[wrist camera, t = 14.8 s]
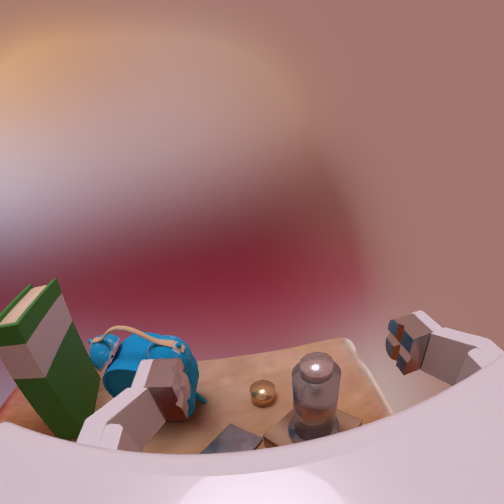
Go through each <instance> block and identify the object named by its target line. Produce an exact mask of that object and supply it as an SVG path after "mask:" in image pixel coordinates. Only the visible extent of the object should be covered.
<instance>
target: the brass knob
mask: <svg viewBox="0 0 504 504" xmlns="http://www.w3.org/2000/svg"><path fill="white" fill-rule="evenodd" d="M250 392H251V397H252V402H253V404H254V405H255V406H257V407H261V408H265V407H269V406H271V405H272V404H273V403H274V402H275V400H276V397H275V388H274V384H273V383H272V382H270V381H268V380H259V381H256V382H254V383H253V384H252V385H251V387H250Z"/></svg>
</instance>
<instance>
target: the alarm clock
mask: <svg viewBox="0 0 504 504" xmlns="http://www.w3.org/2000/svg"><path fill="white" fill-rule="evenodd" d="M116 330H122V331H128V332H131V333H134V334H133V335H131V336H129V337H127V339H126V340H124V341H123V342H122V343H121V344H120V345H119V347H118V350H117V352H116V354H115V356H114V358H113V355H112V353H113V352H114V350H115V348H116V346H117V344H118V341H119V337H117V336H115V335H112V334H109V333H110V332H112V331H116ZM88 342H89V344H90V359H91V361H92V363H93V365H94V366H95V368H96V369H97V370H99V371H100V372H101V371H102V370H103V368H104V367H105V365H106V364H107V362H108V361H109V359H110V357H111V358H113V360H112V362H111V363H110V364H109V365H108V367H107V369H106V371H105V373H104V376H103V384H104V386H105V388H106V390H107V391H108V393H109V394H110V395H111V396H112V397H113V398H115V397H116V396H117V395H119V394H120V393H121V392H123V391H124V390H125V389H126V388H131V386H132V383H133V380H134V377H135V375H136V372H137V369H138V367H139V364H140V362H141V361H142V360H143V359H169V358H180V359H181V360H182V363H183V365H184V368H183V372H184V373H185V374H187V376H188V379H189V384H190V398H189V399H188V400H187V403H188V406H189V409H188V417H189V416H191V415H192V414H193V412H194V408H195V402H196V398H197V399H198V400H200V401H201V402H203V403H204V404H205V403H206V402H207V401H206V400H205V399H204V398H203V397H202V396H201V395H199V394H198V393H197V392H196V388H197V383H198V378H199V371H198V365H197V362H196V360H195V358H194V356H193V355H192V353H191V350H190V348H189V347H188V345H187V344H186V343H185V342H184V341H183V340H181V339H180V338H178V337H175V336H170V335H166V336H162V335H159V334H154V333H146V332H144V333H143V332H141V331H139V330H137V329H134V328H131V327H127V326H115V327H112V328H110V329H108V330H107V331H106V333H105V334H103V335H100V336H98V337H95V338H94V340H92V339H89V340H88Z"/></svg>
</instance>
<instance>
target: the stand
mask: <svg viewBox="0 0 504 504" xmlns="http://www.w3.org/2000/svg"><path fill="white" fill-rule="evenodd" d="M335 416H336V417H337V419H338V421H339V432H338V433H340V432H343V431H347V430H350V429H353V428H356V427H359V426H361V423H362V420H360V419H358V418H356V417H353V416H351V415H349V414H346V413H344V412H342V411H340V410H337V409H336V415H335ZM293 417H294V409H293V410H291V411H290V412H289V413H288V414H287V415H286V416H285V417H284V418H283V419H281V420H280V421H279V422H278V423H277V424H276V425H275V426H273V427H272V428H271V429H270V430H269V431H268V432H266V433H265V434H264V435H263V439H264V444H265V446H267V447H268V448H271V447H278V446H283V445H289V444H294V443H293V442H292V441H291V439H290V437H289V433H288V426H289V423H290V421H291V419H292V418H293Z"/></svg>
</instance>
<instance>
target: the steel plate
mask: <svg viewBox="0 0 504 504" xmlns="http://www.w3.org/2000/svg"><path fill="white" fill-rule="evenodd" d="M262 441H263V438H261V437H259V436H257V435H254V434H252V433H250V432H248V431H245V430H243V429H241V428H239V427H237V426H235V425H233V424H229V425H228V426H227V427H226V428H225V429H224V430H223V431H222V432H221V433H220V434H219V436H218V437H217V438H216V439H215V440H214V441H213V442H212V443H211V444H210V445H209V446H208V447H206V448H205V449H204V450H203V451H202V452H201V453H200V454H212V453H228V452H240V451H249V450H255V449H256V448H257V447H258V446H259V445H260V443H261V442H262Z"/></svg>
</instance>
